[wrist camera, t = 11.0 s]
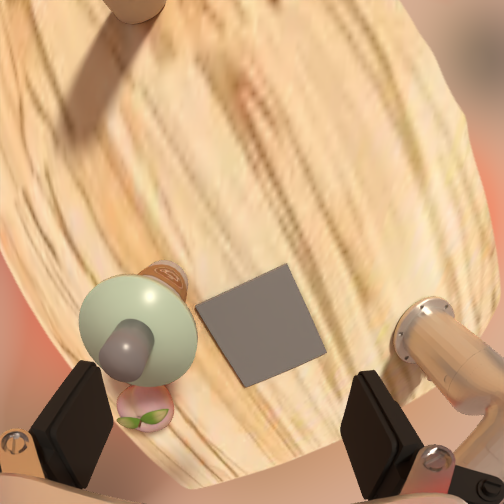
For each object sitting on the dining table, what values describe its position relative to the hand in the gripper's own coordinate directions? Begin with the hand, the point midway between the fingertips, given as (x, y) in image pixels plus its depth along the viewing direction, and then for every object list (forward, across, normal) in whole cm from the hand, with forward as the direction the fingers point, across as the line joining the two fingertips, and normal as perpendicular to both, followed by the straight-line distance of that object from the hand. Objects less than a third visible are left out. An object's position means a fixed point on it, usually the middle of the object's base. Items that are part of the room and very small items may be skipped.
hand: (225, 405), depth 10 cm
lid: (+18, +9, +7) cm, 21 cm away
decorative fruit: (+33, +13, +26) cm, 44 cm away
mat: (+33, -4, +14) cm, 36 cm away
